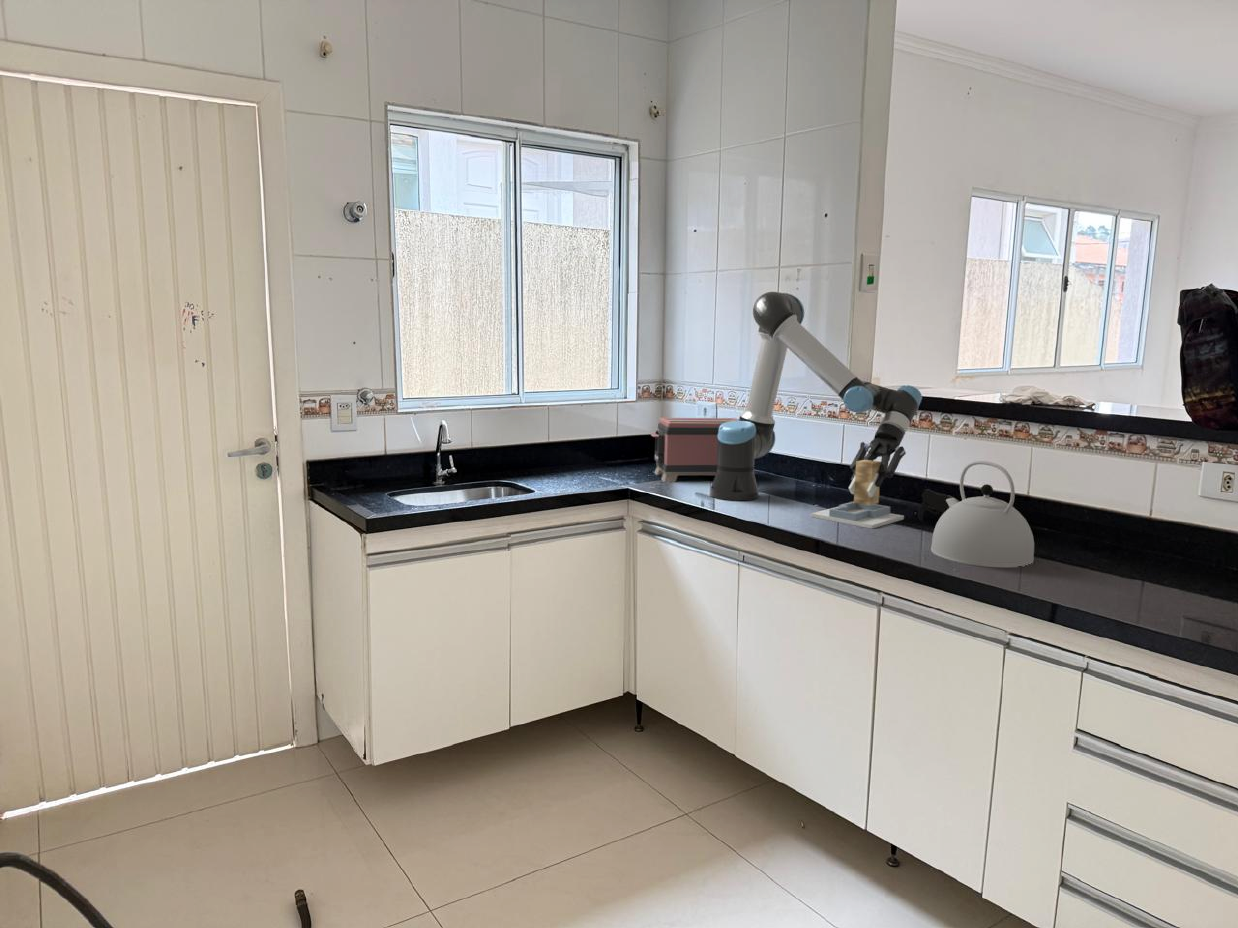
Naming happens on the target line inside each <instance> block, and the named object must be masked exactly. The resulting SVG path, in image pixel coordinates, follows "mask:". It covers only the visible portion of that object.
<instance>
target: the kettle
mask: <svg viewBox="0 0 1238 928" xmlns="http://www.w3.org/2000/svg"><path fill="white" fill-rule="evenodd" d="M977 465H985V466H990V467H994V468H997V469H998V470H1000V471H1001V472H1002V473H1003V474H1004V475H1005V476H1006V479H1007V480H1008V483H1009V488H1010V498H1009V499H1010V500H1009V503H1008V502H1006V501H1004V500H1002V499H998V498H996V497H992V496H991V497H990V495H992V494H993V491H994V489H993V486H992V485H990V484H987V483H986V484H983V485H982V486H981V488H980V492H981V494H982V495H983V496H972V497H967V498H966V495H965V490H964V489H965V488H964V481H965V477H966V476H965V475H966V474H967V472H968V470H969V469H970V468H971V467H973V466H977ZM959 478H960V479H959V491H960V496H961V499H962V500H961V501H960V500H959V501H960V502H958V501H957V500H958V499H957V498H955V497H953V498H949V499H947V500H946V501H947V503H948V505H949V507H950V508H949V509H948V510H947V511H946V512H945V513H942V514H941V516H940V517H939V519H938V521H937V522H936V524H935V528H934V529H933V532H932V533H933V534H932V539H931V546H930V551H931V552H932V553H933V554H934V555H935V556H937V557H940V558H943V559H945V560H949V561H952V562H955V561H956V563H962V564H965V565H971V566H977V567H978V566H979V567H988V568H1019V567H1018V566H1022V567H1026V566H1025V565H1027V566H1029V565H1028V564H1030V565H1032V564H1033V563H1034V562H1033V561H1035V559H1034V557H1035V555H1034V554H1035V541H1034V535H1033V531H1032V529H1031V527H1030V525H1029V523H1028V521H1027V519H1026V518H1025V517H1024V516H1023V515H1022V514H1021V512H1020V511H1018V510H1017V509H1016V508H1015V507H1014V502H1015V497H1016V496H1015V495H1016V490H1015V485H1014V481H1013V478H1012V477H1011V475H1010V473H1009V472H1008V471H1007V469H1005V468H1004V467H1003V466H1001V465H999V464H998V463H994V462H993V461H987V460H986V461H985V460H976V461H973V462H970V463H968V464H967V465H966V466H965V467H964V468H963V470H962V472H961V474H960V477H959ZM956 499H957V500H956ZM1031 563H1032V564H1031Z"/></svg>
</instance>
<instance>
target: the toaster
mask: <svg viewBox="0 0 1238 928" xmlns="http://www.w3.org/2000/svg"><path fill="white" fill-rule="evenodd" d="M732 421H739V418H735V417H732V418H731V417H730V418H729V417H728V418H727V417H722V418H720V417H719V418H718V417H717V418H715V417H713V418H711V417H660V418H659V419H658V424H657V429H658V430H655V433H651V434H650V436H651V437H653V438H655V439H654V461H655V465H656V468H655V470H654V475H656V476H661V479H660V480H661V481H662V482H664V483H676V482H677V480H678V477H679V476H715V475H716V472H717V451H718V432H719V427H720V425H721V424H723V423H726V422H732Z"/></svg>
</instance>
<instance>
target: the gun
mask: <svg viewBox="0 0 1238 928" xmlns="http://www.w3.org/2000/svg"><path fill="white" fill-rule="evenodd" d="M921 498H922V500H923V501H922V502H921V504H920V505H919V508H918V513H917V517H918V520H919V521H920V522H924V515H925V511H928V512H930V513H931V514H933V515H940V514H941V513H942V514H944V513H945V512H946V511H947V510H948V509H949V508H950V507H949V505H948V503H947V501H946V500H947V499H949V498H954V496H951V495H947V494H945V493H939V492H935V491H933V490H932V489H929V488H926V489H924V490H923V491H922V493H921ZM955 499H956V500H957V501H958V502H960V500H959V499H957V498H955ZM928 507H930V508H928ZM932 508H934V509H935V510H936V512H935V511H934V510H932Z"/></svg>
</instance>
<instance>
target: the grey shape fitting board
mask: <svg viewBox="0 0 1238 928" xmlns="http://www.w3.org/2000/svg"><path fill="white" fill-rule="evenodd" d="M810 517H811V518H816V519H820V520H826V521H831V522H836V523H840V524H841V523H842V524H846V525H851V526H856V527H860V528H861V527H862V528H866V529H867V528H868V529H875V528H879V527H882V526H886V525H889V524H893V523H896V522H899V521H903V520H904V519H905V515H903V514H902V515H901V514H897V513H896V514H895V513H891V506H888V505H881V504H878V503H877V504H873V505H864V504H858V503H854V500H853V501H849V502H846V503H842V504H838V506H836V507H831V508H827V509H823V510H819V511H816V512H811V514H810Z"/></svg>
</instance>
